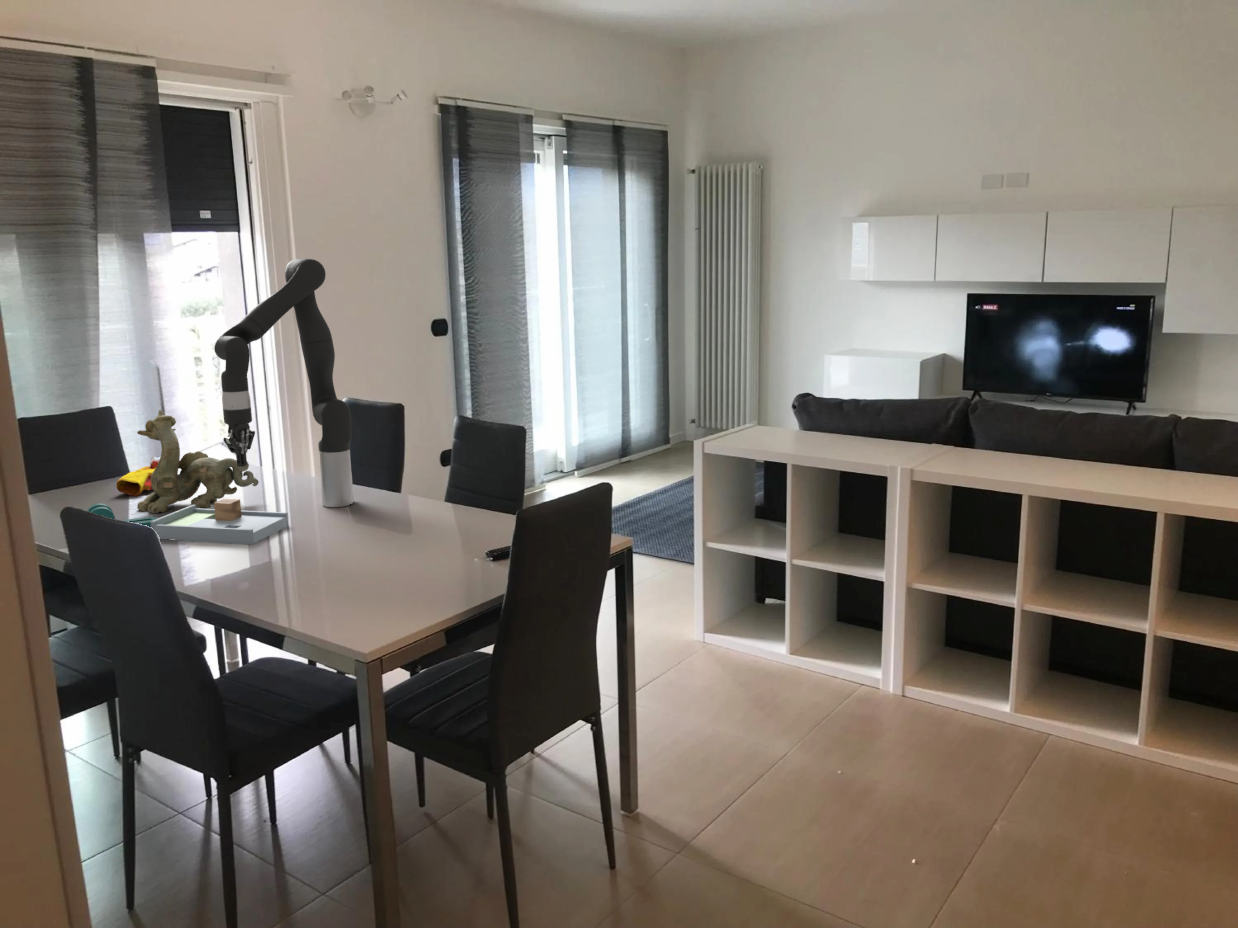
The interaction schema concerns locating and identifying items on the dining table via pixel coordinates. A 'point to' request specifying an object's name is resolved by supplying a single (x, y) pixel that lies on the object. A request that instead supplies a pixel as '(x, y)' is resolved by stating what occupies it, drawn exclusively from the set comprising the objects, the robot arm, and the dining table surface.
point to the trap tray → (219, 526)
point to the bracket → (107, 512)
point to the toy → (137, 479)
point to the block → (227, 509)
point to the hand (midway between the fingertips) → (242, 465)
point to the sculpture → (187, 471)
